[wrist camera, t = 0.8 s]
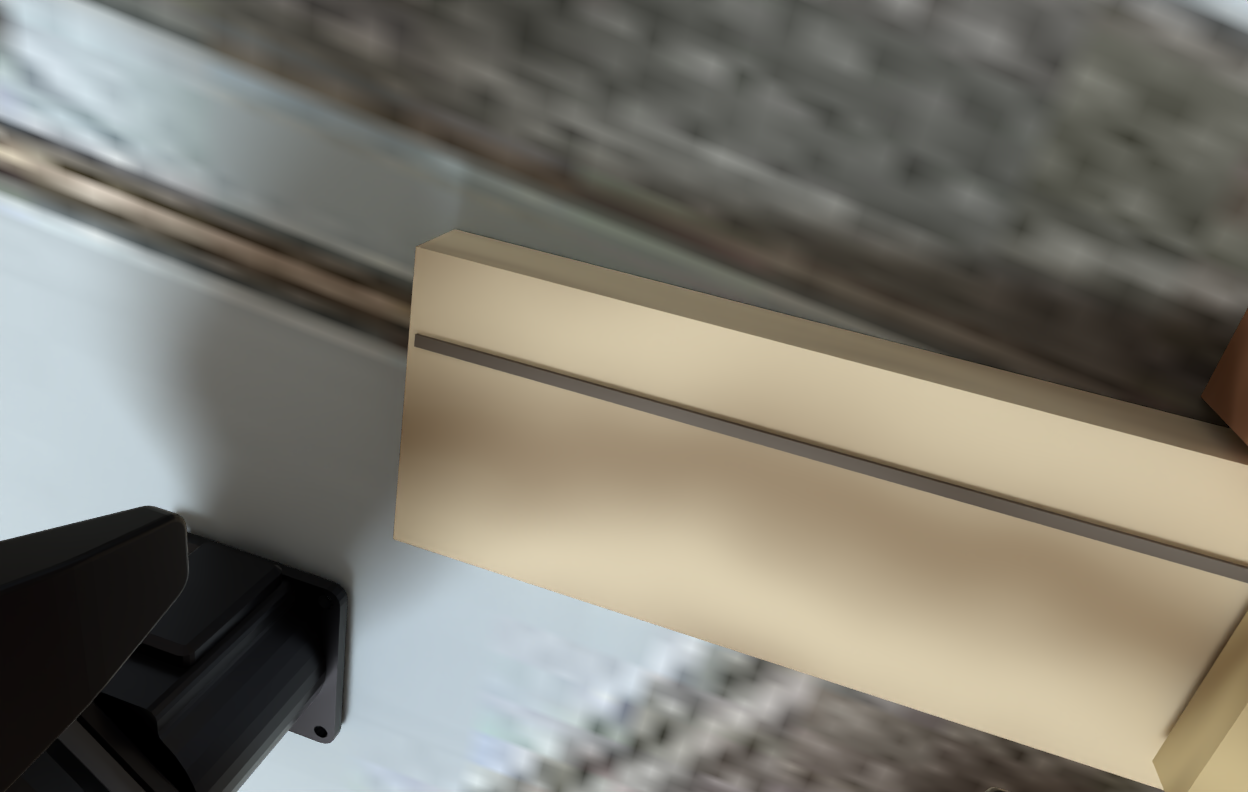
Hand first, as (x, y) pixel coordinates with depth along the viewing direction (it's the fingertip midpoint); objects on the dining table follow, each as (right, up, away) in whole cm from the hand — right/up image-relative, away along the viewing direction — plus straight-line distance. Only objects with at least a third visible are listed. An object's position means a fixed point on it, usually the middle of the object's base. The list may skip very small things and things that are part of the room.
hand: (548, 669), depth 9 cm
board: (+8, 0, +11) cm, 14 cm away
